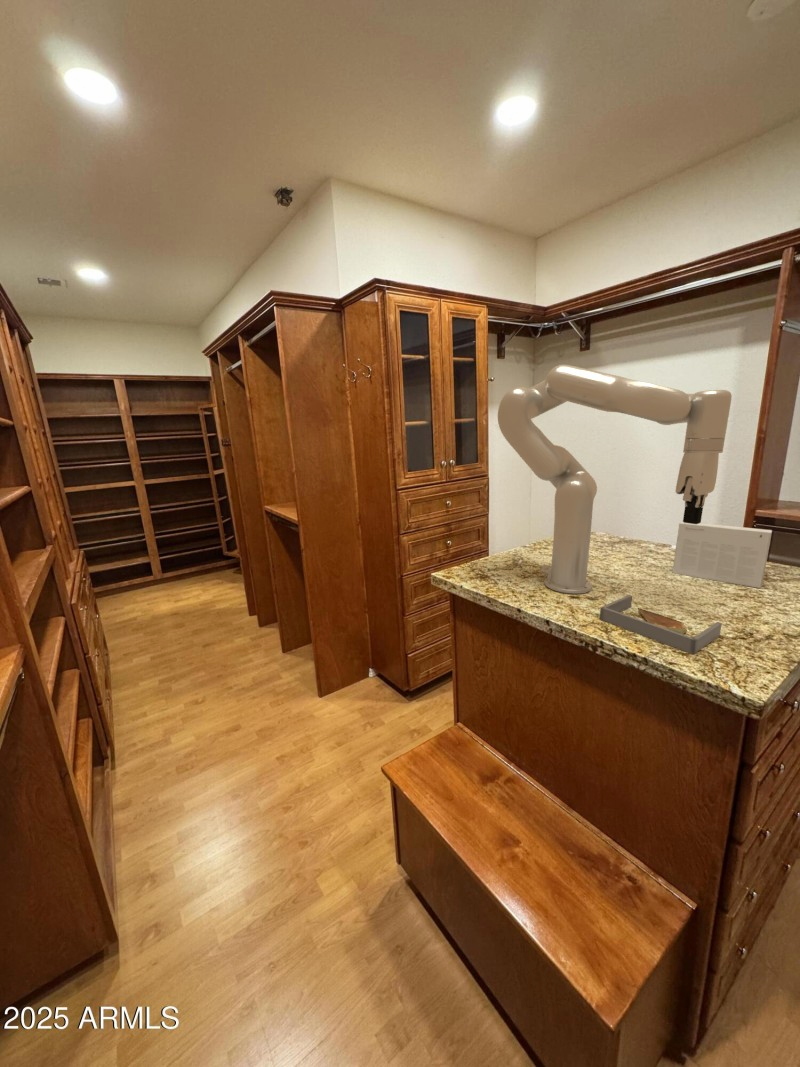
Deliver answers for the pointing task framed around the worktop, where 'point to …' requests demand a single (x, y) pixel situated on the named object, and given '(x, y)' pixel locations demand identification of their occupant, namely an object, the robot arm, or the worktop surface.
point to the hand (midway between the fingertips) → (691, 522)
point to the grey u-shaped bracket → (656, 628)
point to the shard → (663, 621)
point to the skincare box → (722, 553)
